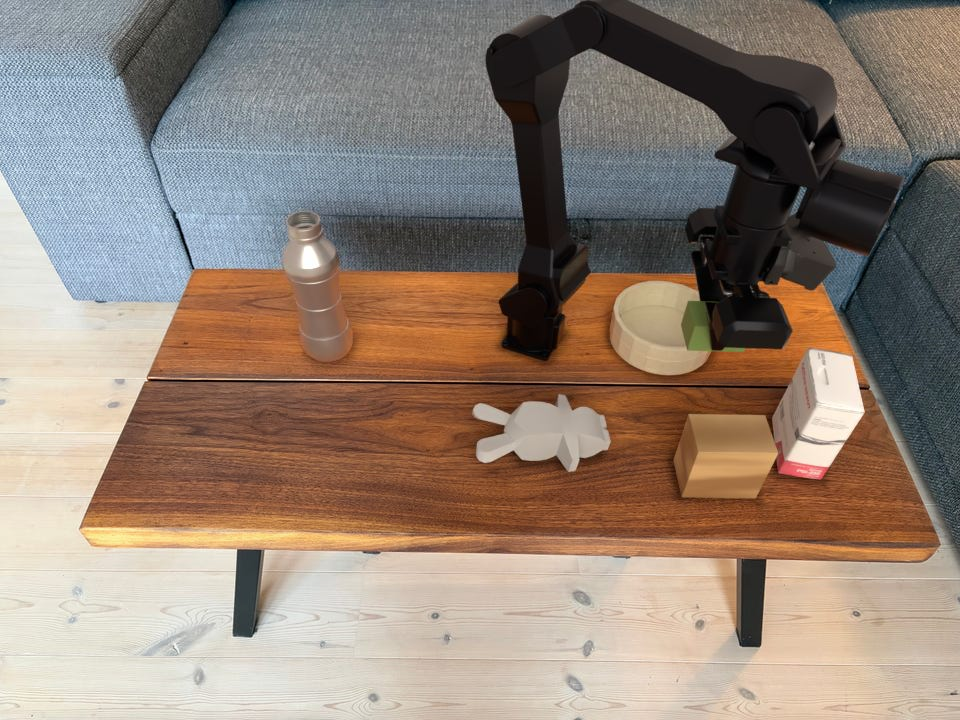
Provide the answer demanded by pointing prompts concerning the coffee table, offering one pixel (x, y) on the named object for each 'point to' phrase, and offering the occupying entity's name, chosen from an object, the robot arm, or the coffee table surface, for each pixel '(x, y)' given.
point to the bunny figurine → (544, 432)
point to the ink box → (816, 413)
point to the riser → (724, 456)
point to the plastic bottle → (316, 288)
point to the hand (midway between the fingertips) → (712, 335)
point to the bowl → (654, 328)
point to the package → (698, 328)
